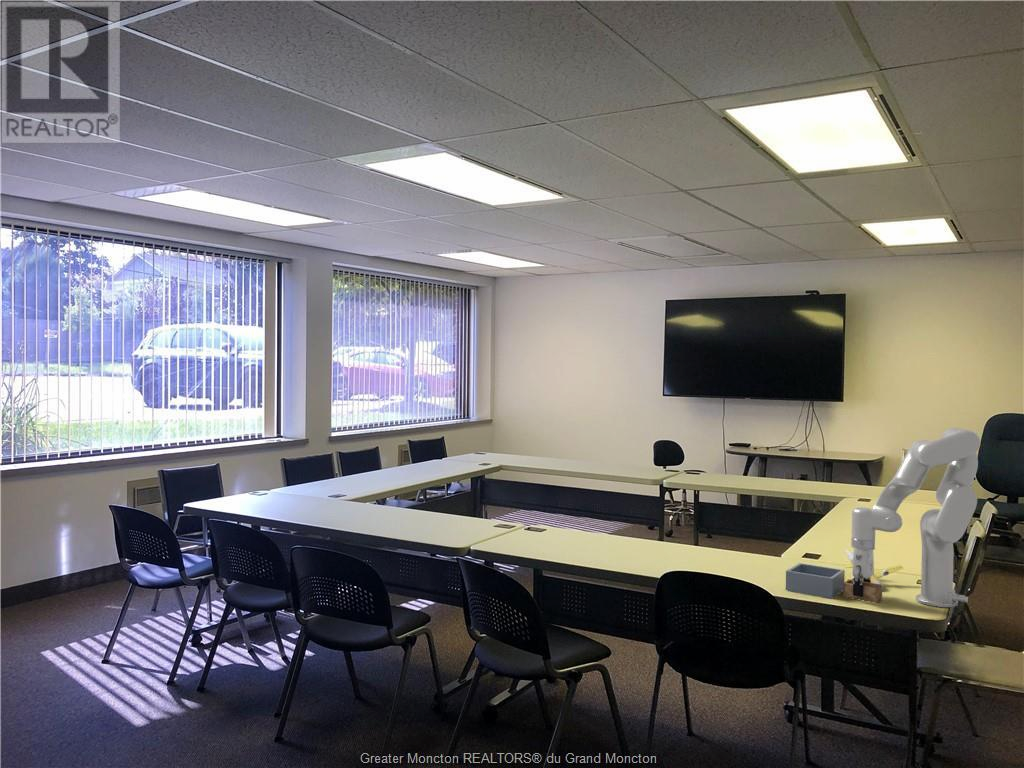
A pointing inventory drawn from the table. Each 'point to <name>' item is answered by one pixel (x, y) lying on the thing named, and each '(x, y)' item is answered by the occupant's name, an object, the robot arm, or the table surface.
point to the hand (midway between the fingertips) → (861, 593)
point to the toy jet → (876, 573)
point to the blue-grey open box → (815, 580)
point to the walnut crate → (864, 591)
